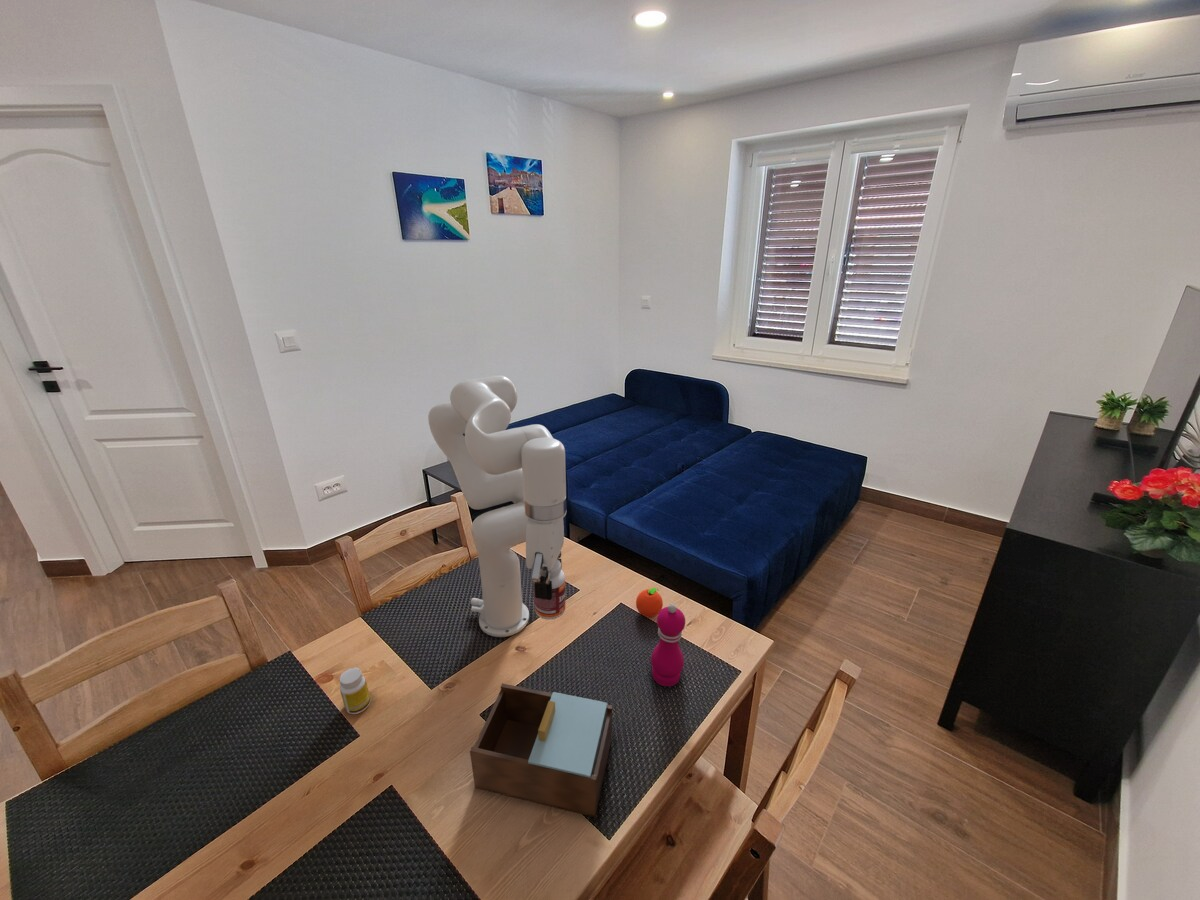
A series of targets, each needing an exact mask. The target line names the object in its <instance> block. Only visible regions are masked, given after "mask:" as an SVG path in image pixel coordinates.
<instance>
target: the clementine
mask: <svg viewBox="0 0 1200 900" xmlns="http://www.w3.org/2000/svg"><path fill="white" fill-rule="evenodd" d="M657 591H658V588H657V587H652V588H650V589H649V588H648V589H647V588H646V589H644V590H642V591H640V592H639V594H638V595H637V597H636V600H635V606H636V609H637V612H638V613H639V614H640V615H642V616H643V617H645V618H654V617H657V616H658V613H659V612H660V611H661V609H663V605H664V602H663V598H662V596H661V595H660V593H659V592H657Z"/></svg>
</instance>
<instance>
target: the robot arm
mask: <svg viewBox="0 0 1200 900" xmlns="http://www.w3.org/2000/svg"><path fill="white" fill-rule="evenodd" d="M517 403H518V392H517V388H516V386H515V385H514V383H513V381H512V380H511V379H510V378H508V377H507V376H504V375H500V374H499V375H498V374H497V375H491V376H485V377H484V376H483V377H477V378H469V379H466V380H463V381H460V382H458V383H457V384H456V385H454V386H453V388H452V389H451V391H450V395H449V400H447V401H444V402H440V403H438V404H436V405H434V406H433V407H431V408H430V410H429V412H428V416H427V421H428V425H429V430H430V433H431V435H432V437H433V440H434V441H435V443H436V445H437V446H438V448H439V449H440V450H441V451H442V453H443V454H444V455H445V457H446V458H447V459H448V461H449V462H450V465H451V467H452V469H453V472H454V474H455V475H454V476H455V477H456V479H457V482H458V485H459V488H460V490H461V492H462V496H463V497H464V500H465V502H466V503H467V505H468V506H469V507H470V509H473V510H475V511H476V510H484V509H487V508H492V507H495V506H498V505H503V504H506V503H509V502H512V504H509V505H505V506H502V507H498V508H495V509H492V510H488V511H486V512H484V513H482V514H480V515H478V516H477V517H475V519H474V520H473V521H472V523H471V527H470V529H471V530H470V531H471V536H472V540H473V543H474V547H475V549H476V554H477V558H478V565H479V574H480V584H481V592H482V593H481V594H482V599H480V598H477V597H471V599H470V606H471V608H470V612H472V613H478V614H479V616H478V624H479V627H480V629H481V631H482V632H483V633H485V634H486V635H488V636H490V637H494V638H506V637H511V636H513V635H516V634H518V633H519V632H521V631H522V630H523V629H525V627H526V626H527V625H528V623H529V620H530V611H529V608H528V606H527V605H526V604H525V603H523V595H522V593H523V592H522V579H521V578H522V577H521V563H520V559H519V557H518V555H517V553H516V552H515V551H513V549H512V548H513V547H517V546H518V545H520V544H524V543H525V566H526V568H527V569H528V570H530V569H531V570H532V575H531V581H532V582H533V581H534V585H535V597H536V598H540V599H547V600H551V599H552V581H550V571H551V569H552V568H553V567H554V565H555V563H556V560H557V559H558V560H559V561H560V563H561V570H562V571H563V569H562V568H563V567H562V566H563V565H562V563H563V562H562V549H563V546H564V543H565V524H564V523H565V521H564V518H565V517H566V515H567V510H568V509H567V477H566V476H567V475H566V474H567V472H566V471H567V469H566V449H565V445H564V443H562V441H560V440H558V439H556V438H554V436H552V433H551V432H550V431H549V429H548V428H547V427H545V426H544V425H543V424H538V423H537V424H529V425H524V426H519V427H513V428H509V429H507V428H508V427H509V425H510V423H511V418H512V412H513V411H514V410H515V409H516V406H517ZM543 563H544V564H545V566H542V565H543ZM542 570H543V571H546V577H545V576H542V575H541V571H542Z"/></svg>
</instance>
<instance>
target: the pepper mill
mask: <svg viewBox="0 0 1200 900" xmlns="http://www.w3.org/2000/svg"><path fill="white" fill-rule="evenodd" d="M656 625H657V627H658V628H657V629H658V630H657V635H658V637H659V642H658V643H657V644H656V646H655V647H654V648H653V650H652V652H651V656H650V664H651V667H652V668H651V669H652V670H651V676H652V678H653V680H654V682H656V683H657V684H658V685H660V686H663V687H673V686H675V685H677V684H678V683H679V681H680V679H681V673H682V671H683V668H684V665H685V658H684V654H683V651H682V650H681V647H680V645H679V641H680V640H681V638H682V635H683V630H684V629H685V626H686V617H685V615H684V613H683V611H681V609H680V608H678V607H677V606H676V605H675V604H673V603H671V604H668V606H665V607H662V609H661V611H660V612H659V613H658V615H656Z"/></svg>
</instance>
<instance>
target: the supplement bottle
mask: <svg viewBox="0 0 1200 900" xmlns="http://www.w3.org/2000/svg"><path fill="white" fill-rule="evenodd" d="M339 684H340V685H339V692H340V694H341V698H342V702H343V705H344V710H345V712H346V713H347V714H349V715H358V714H361V713H362V712H364V711H366V710H367V708H368V707H369V706H370V705H371V696H370V693H369V688H368V685H367V680H366V677H365V676H364V675H363V673H362V670H361V669H360V668H358V667H350V668H347V669H346V670H345V671H343V672H342V673H341V675H340V676H339Z"/></svg>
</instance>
